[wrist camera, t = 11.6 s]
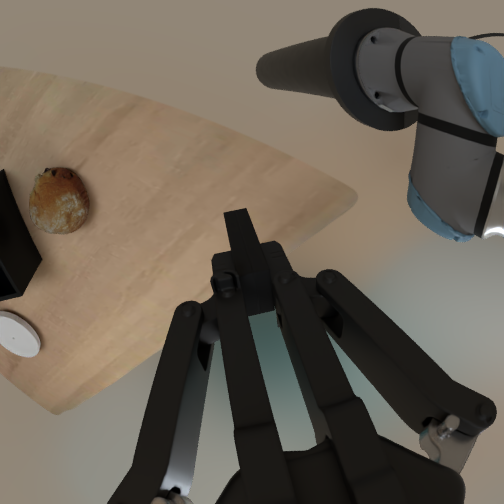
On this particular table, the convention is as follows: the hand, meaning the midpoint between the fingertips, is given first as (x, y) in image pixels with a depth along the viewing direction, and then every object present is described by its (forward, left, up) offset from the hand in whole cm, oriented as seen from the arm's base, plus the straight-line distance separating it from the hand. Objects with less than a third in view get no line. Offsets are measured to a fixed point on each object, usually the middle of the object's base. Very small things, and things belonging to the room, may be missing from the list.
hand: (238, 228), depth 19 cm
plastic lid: (+53, +26, -23) cm, 63 cm away
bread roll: (+24, +1, -23) cm, 33 cm away
